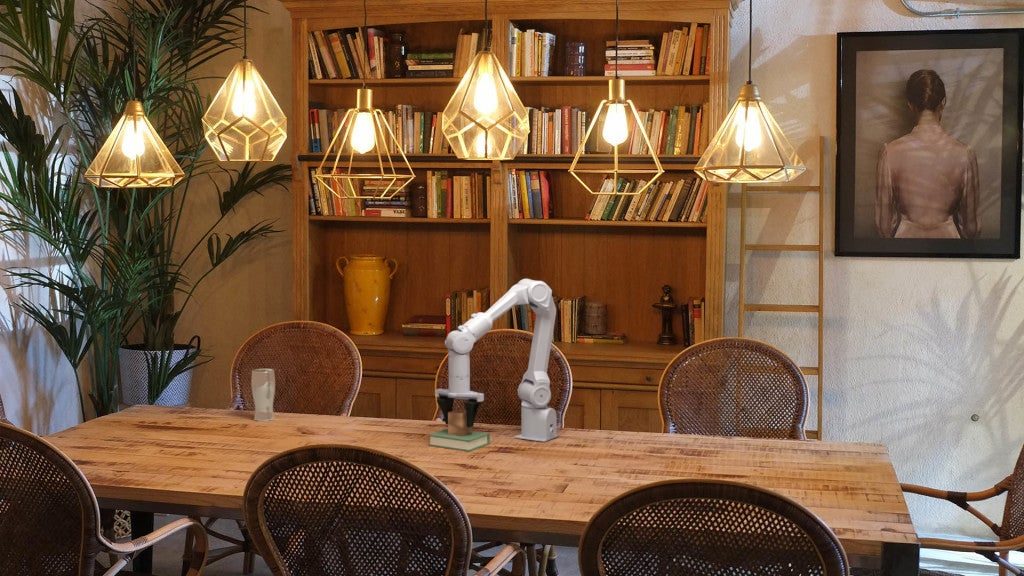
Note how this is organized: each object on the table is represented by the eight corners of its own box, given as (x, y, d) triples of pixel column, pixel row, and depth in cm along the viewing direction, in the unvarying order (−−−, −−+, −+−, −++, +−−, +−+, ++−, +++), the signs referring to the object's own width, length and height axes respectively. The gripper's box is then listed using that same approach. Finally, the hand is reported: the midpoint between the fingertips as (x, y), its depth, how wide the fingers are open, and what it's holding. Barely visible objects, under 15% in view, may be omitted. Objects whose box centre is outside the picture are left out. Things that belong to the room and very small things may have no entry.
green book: (489, 444, 285) (489, 433, 285) (469, 451, 277) (469, 440, 276) (450, 438, 292) (450, 427, 292) (429, 445, 283) (429, 434, 283)
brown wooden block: (471, 433, 285) (471, 411, 284) (462, 436, 281) (462, 414, 281) (457, 431, 287) (457, 409, 287) (448, 434, 283) (448, 412, 283)
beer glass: (263, 422, 312) (262, 372, 311) (247, 420, 316) (246, 370, 315) (280, 418, 318) (279, 369, 317) (264, 415, 322) (263, 367, 321)
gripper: (428, 375, 283) (428, 424, 284) (473, 380, 275) (473, 431, 277) (443, 371, 289) (443, 420, 290) (488, 376, 281) (488, 426, 283)
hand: (459, 425), depth 284 cm, fingers open, 6 cm apart
